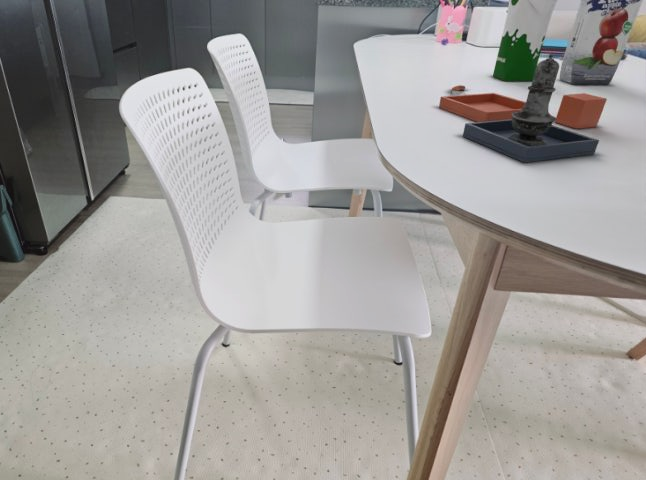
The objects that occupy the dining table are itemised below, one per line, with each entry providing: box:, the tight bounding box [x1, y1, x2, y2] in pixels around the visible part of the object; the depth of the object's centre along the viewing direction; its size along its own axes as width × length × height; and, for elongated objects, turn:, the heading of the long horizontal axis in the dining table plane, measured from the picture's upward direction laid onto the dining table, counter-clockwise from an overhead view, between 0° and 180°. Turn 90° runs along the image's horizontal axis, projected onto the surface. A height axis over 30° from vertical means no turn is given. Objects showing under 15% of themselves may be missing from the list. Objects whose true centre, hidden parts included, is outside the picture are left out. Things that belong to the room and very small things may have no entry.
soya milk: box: [492, 0, 558, 82], centre depth 111 cm, size 9×9×20 cm
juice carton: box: [559, 0, 643, 86], centre depth 105 cm, size 9×10×27 cm
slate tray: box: [462, 119, 600, 163], centre depth 69 cm, size 12×13×2 cm
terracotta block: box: [554, 92, 608, 130], centre depth 78 cm, size 4×4×4 cm
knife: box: [449, 84, 466, 96], centre depth 100 cm, size 13×1×3 cm
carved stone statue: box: [507, 51, 560, 146], centre depth 66 cm, size 6×6×12 cm
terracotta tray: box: [438, 92, 526, 122], centre depth 85 cm, size 12×13×2 cm
